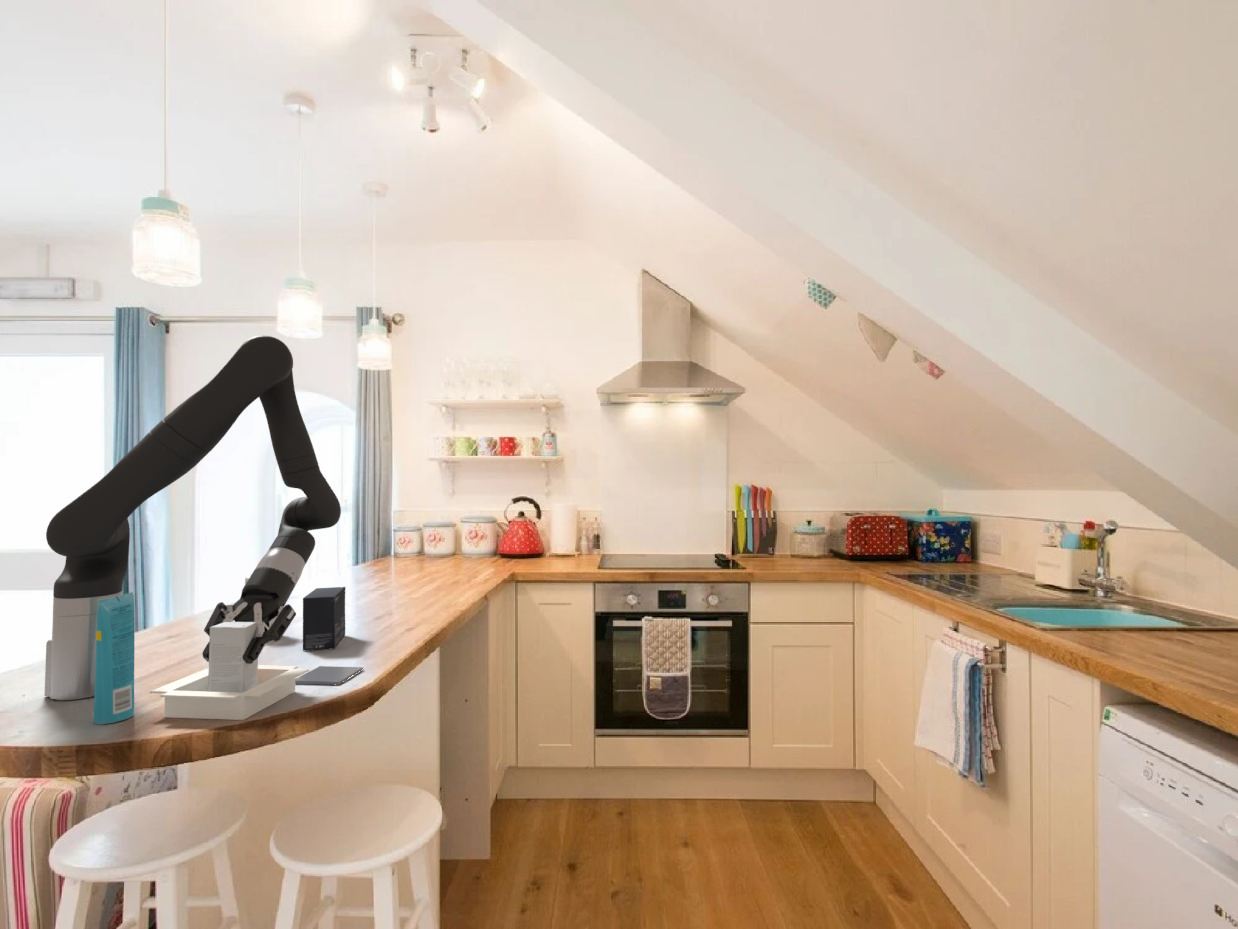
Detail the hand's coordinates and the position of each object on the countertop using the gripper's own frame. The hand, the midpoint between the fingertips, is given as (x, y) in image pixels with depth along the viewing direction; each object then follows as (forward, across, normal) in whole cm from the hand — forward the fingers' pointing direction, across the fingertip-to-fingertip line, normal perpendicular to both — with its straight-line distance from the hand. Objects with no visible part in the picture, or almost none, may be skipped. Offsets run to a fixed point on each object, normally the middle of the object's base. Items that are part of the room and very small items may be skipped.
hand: (227, 660), depth 100 cm
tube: (+10, -14, +1) cm, 17 cm away
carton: (+4, 0, +6) cm, 8 cm away
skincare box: (+4, 0, +6) cm, 7 cm away
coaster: (-6, +8, +17) cm, 20 cm away
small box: (-23, -7, +34) cm, 42 cm away
